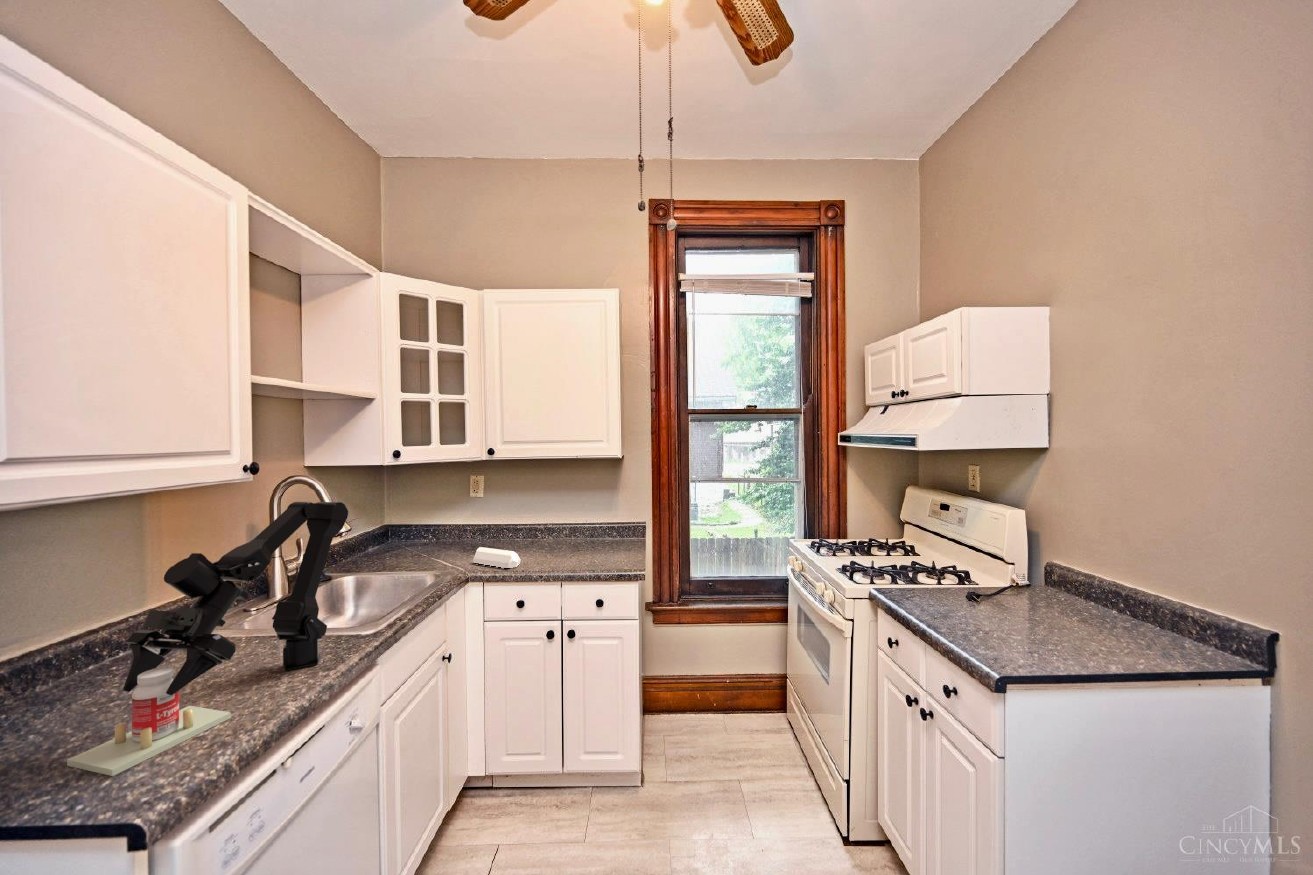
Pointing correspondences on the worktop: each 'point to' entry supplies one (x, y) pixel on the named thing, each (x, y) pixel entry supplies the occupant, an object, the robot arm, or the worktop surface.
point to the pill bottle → (154, 704)
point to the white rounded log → (496, 557)
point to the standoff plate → (144, 742)
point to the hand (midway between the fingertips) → (146, 692)
